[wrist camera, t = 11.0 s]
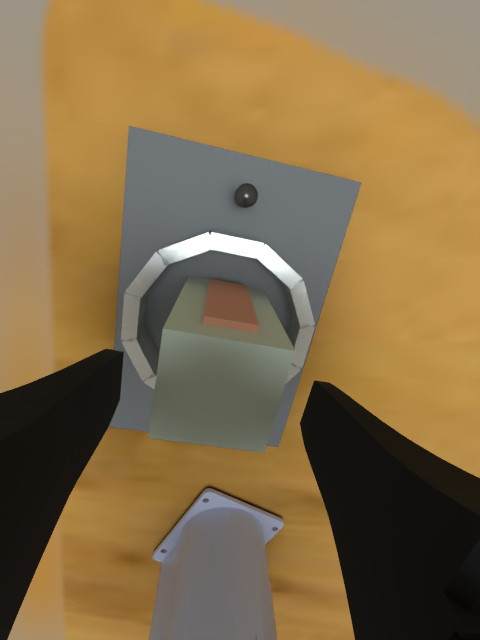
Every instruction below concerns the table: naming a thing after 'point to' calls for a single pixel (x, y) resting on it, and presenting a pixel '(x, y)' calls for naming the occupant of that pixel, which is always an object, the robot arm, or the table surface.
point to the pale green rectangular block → (220, 367)
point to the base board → (222, 215)
